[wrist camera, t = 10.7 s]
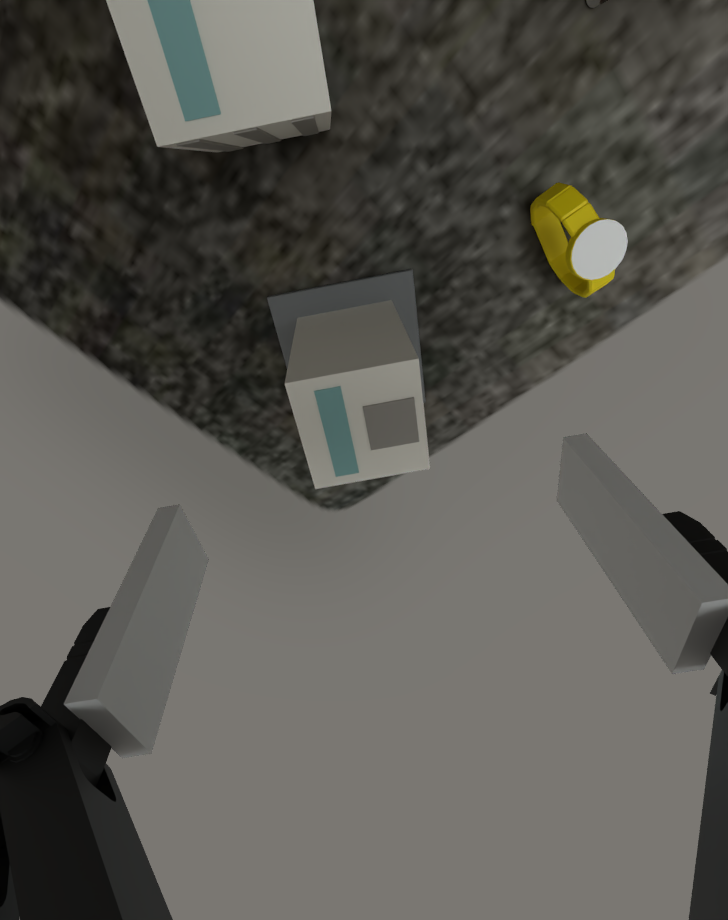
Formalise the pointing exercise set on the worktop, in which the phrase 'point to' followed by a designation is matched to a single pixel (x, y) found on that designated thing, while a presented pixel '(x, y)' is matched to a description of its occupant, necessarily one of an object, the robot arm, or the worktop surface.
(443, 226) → the worktop surface
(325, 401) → the stub
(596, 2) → the coffee box
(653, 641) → the robot arm
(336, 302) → the mat
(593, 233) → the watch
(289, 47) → the pad
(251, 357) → the worktop surface
